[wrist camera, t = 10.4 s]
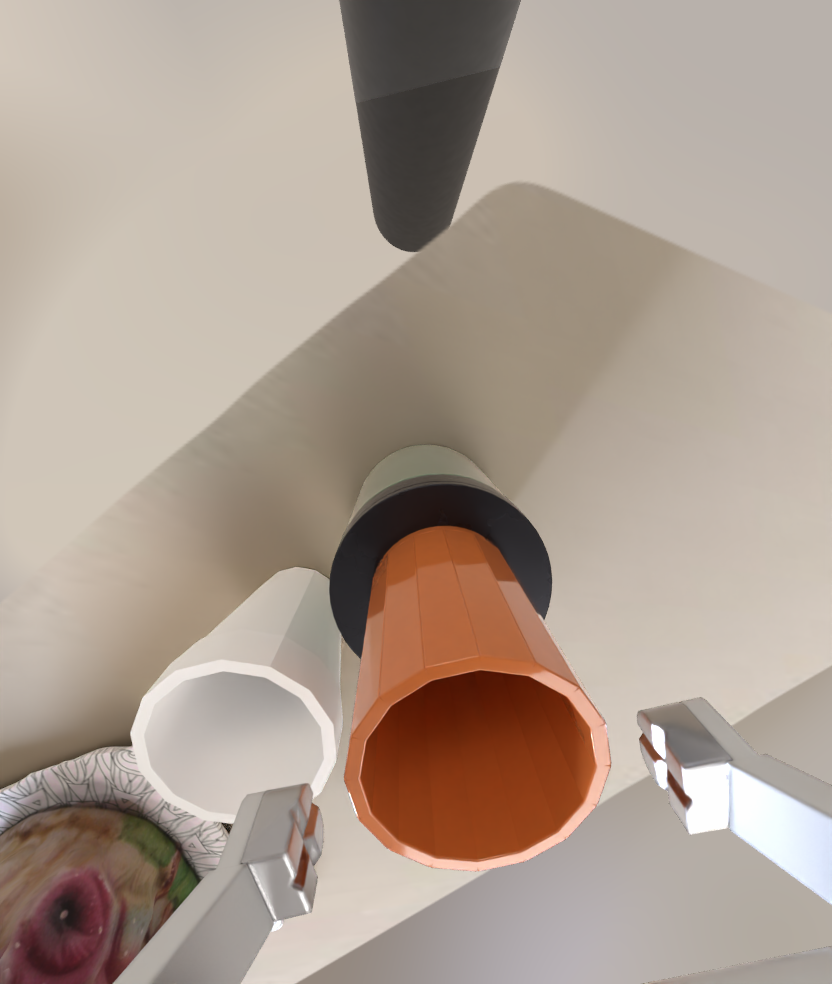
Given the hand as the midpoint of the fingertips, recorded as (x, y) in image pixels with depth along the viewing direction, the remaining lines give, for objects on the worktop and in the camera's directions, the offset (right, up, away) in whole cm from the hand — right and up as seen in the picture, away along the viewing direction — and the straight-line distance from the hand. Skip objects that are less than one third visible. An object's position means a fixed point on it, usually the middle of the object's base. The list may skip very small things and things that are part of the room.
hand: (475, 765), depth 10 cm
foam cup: (-10, -2, +22) cm, 24 cm away
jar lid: (0, +2, +9) cm, 9 cm away
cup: (0, +2, +9) cm, 9 cm away
